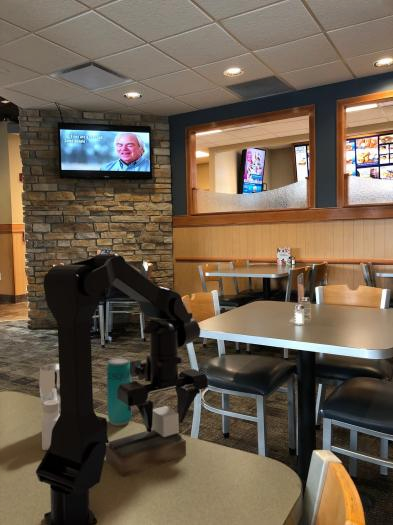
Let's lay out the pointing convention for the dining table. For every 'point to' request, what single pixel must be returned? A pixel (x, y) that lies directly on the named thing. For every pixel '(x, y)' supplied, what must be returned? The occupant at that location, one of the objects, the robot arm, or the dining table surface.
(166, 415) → the block
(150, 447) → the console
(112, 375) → the beverage can
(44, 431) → the pepper shaker
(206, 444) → the dining table surface
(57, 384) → the metal cup
